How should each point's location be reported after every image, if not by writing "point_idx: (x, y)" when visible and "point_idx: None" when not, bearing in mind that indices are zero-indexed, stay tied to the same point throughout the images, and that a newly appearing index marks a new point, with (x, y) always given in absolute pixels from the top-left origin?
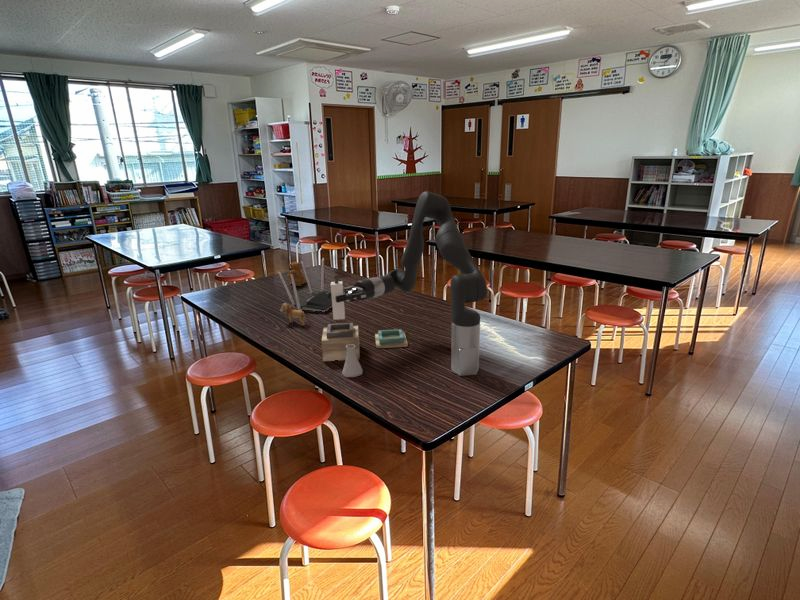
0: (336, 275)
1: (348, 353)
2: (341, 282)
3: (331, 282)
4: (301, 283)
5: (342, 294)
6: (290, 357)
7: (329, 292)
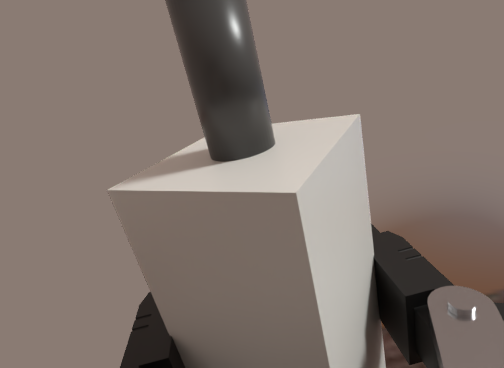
0: (169, 7)
1: None
2: (206, 184)
3: (320, 120)
4: None
5: (173, 329)
6: (395, 343)
7: (376, 235)
